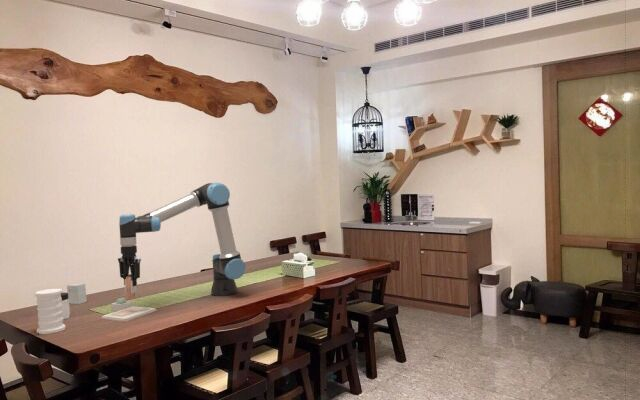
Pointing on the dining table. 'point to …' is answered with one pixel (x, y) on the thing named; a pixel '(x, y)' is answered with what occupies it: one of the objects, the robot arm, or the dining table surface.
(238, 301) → the dining table surface
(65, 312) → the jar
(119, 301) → the button
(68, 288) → the small box
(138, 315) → the board
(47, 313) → the decorative container
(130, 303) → the button housing
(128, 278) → the marker
